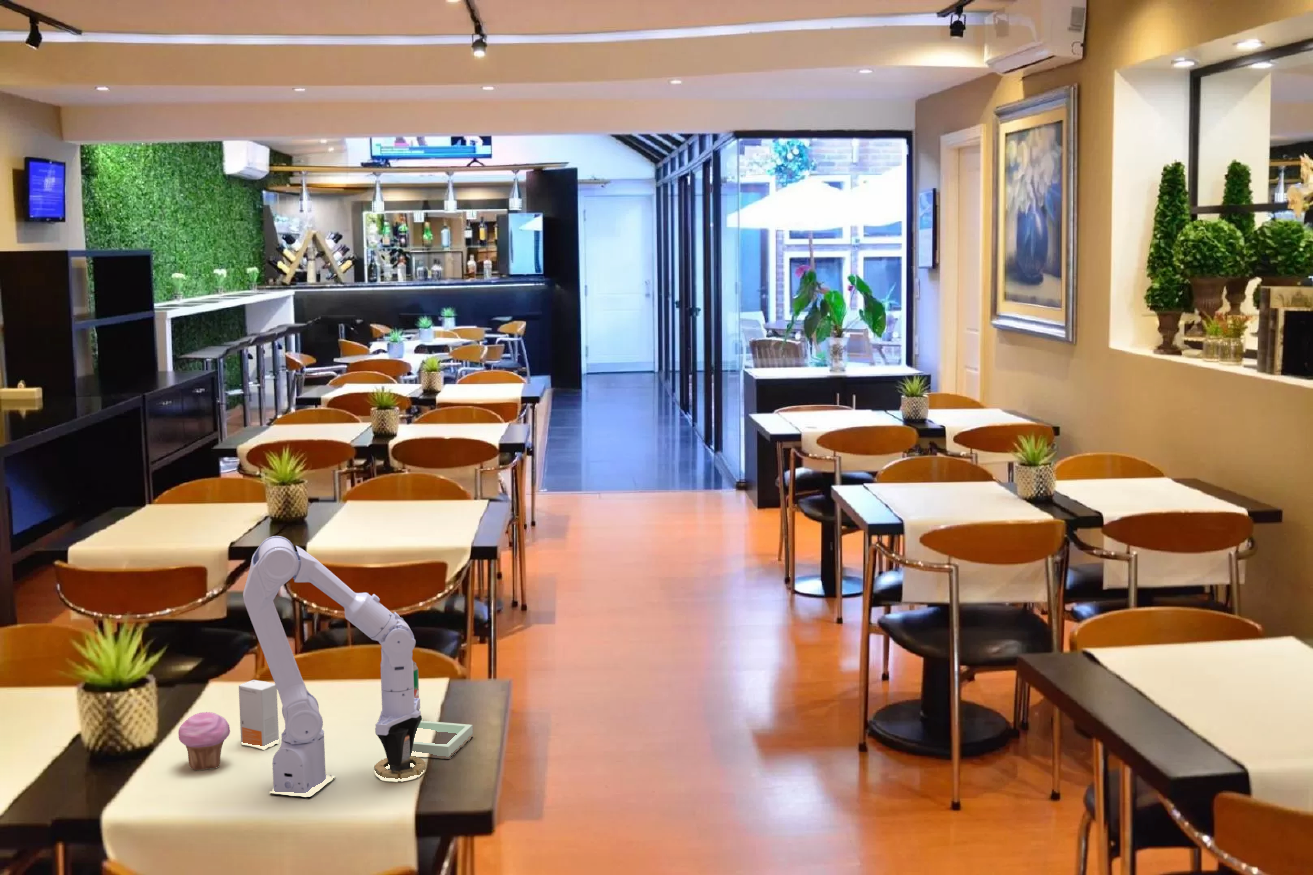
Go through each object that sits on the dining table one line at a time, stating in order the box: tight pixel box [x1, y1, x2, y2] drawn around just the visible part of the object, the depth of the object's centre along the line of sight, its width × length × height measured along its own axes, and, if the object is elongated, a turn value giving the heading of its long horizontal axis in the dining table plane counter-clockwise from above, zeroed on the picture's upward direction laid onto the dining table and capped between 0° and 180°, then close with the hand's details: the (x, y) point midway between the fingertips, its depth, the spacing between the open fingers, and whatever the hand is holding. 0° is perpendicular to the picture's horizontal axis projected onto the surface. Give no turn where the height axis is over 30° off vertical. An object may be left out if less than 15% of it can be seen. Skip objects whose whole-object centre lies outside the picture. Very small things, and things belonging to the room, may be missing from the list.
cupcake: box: [177, 711, 231, 771], centre depth 243 cm, size 9×9×10 cm
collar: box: [373, 756, 427, 779], centre depth 240 cm, size 9×9×2 cm
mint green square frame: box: [412, 720, 474, 757], centre depth 253 cm, size 12×12×2 cm
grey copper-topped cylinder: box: [389, 733, 411, 771], centre depth 239 cm, size 4×4×7 cm
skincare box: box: [238, 679, 280, 746], centre depth 253 cm, size 6×4×12 cm
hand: (399, 760), depth 239 cm, fingers closed on grey copper-topped cylinder, 4 cm apart
